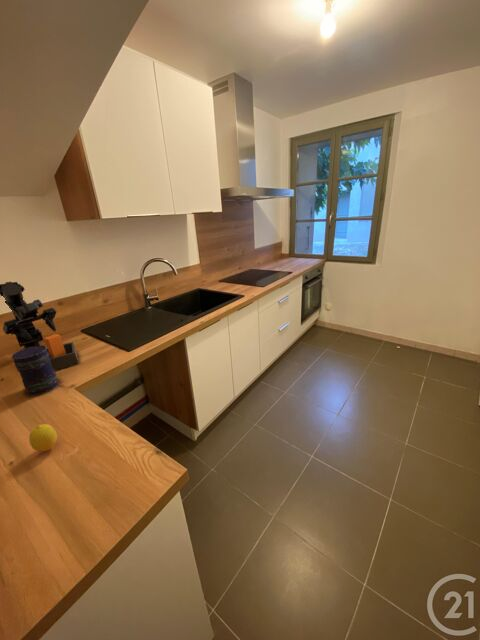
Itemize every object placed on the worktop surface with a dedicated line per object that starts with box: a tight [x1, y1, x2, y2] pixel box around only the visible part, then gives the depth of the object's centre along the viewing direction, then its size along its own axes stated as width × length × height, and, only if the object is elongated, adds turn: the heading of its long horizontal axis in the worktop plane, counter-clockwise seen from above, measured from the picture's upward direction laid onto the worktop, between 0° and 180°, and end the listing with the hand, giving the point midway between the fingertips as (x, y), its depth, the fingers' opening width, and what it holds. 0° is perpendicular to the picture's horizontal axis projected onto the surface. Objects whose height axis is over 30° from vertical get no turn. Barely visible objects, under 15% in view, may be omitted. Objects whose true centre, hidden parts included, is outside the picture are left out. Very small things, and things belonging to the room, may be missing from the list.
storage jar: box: [11, 345, 59, 396], centre depth 94 cm, size 10×10×15 cm
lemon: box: [28, 423, 58, 452], centre depth 68 cm, size 6×6×8 cm
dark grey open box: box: [46, 341, 80, 372], centre depth 113 cm, size 14×13×6 cm
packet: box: [43, 333, 66, 358], centre depth 112 cm, size 3×5×12 cm
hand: (44, 335), depth 109 cm, fingers open, 9 cm apart
